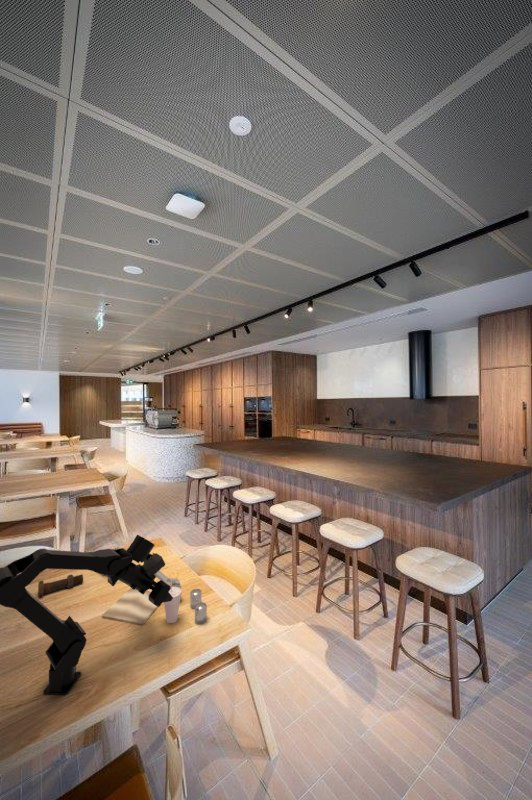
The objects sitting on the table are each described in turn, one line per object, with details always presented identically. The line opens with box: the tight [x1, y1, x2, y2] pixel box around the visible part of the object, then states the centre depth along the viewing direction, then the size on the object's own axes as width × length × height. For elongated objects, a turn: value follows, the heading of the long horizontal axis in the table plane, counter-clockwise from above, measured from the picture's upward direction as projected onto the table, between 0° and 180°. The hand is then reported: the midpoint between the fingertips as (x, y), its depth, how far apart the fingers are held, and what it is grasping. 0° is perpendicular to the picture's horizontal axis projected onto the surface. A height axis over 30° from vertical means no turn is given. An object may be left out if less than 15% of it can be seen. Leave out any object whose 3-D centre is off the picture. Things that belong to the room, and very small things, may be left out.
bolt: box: [37, 574, 84, 598], centre depth 129 cm, size 6×5×15 cm
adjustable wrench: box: [154, 570, 181, 586], centre depth 138 cm, size 25×6×2 cm, turn 42°
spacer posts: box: [172, 584, 208, 625], centre depth 118 cm, size 8×19×5 cm, turn 48°
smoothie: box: [163, 579, 183, 624], centre depth 112 cm, size 6×6×14 cm
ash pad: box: [101, 588, 159, 626], centre depth 119 cm, size 16×16×1 cm
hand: (164, 593), depth 110 cm, fingers open, 9 cm apart
